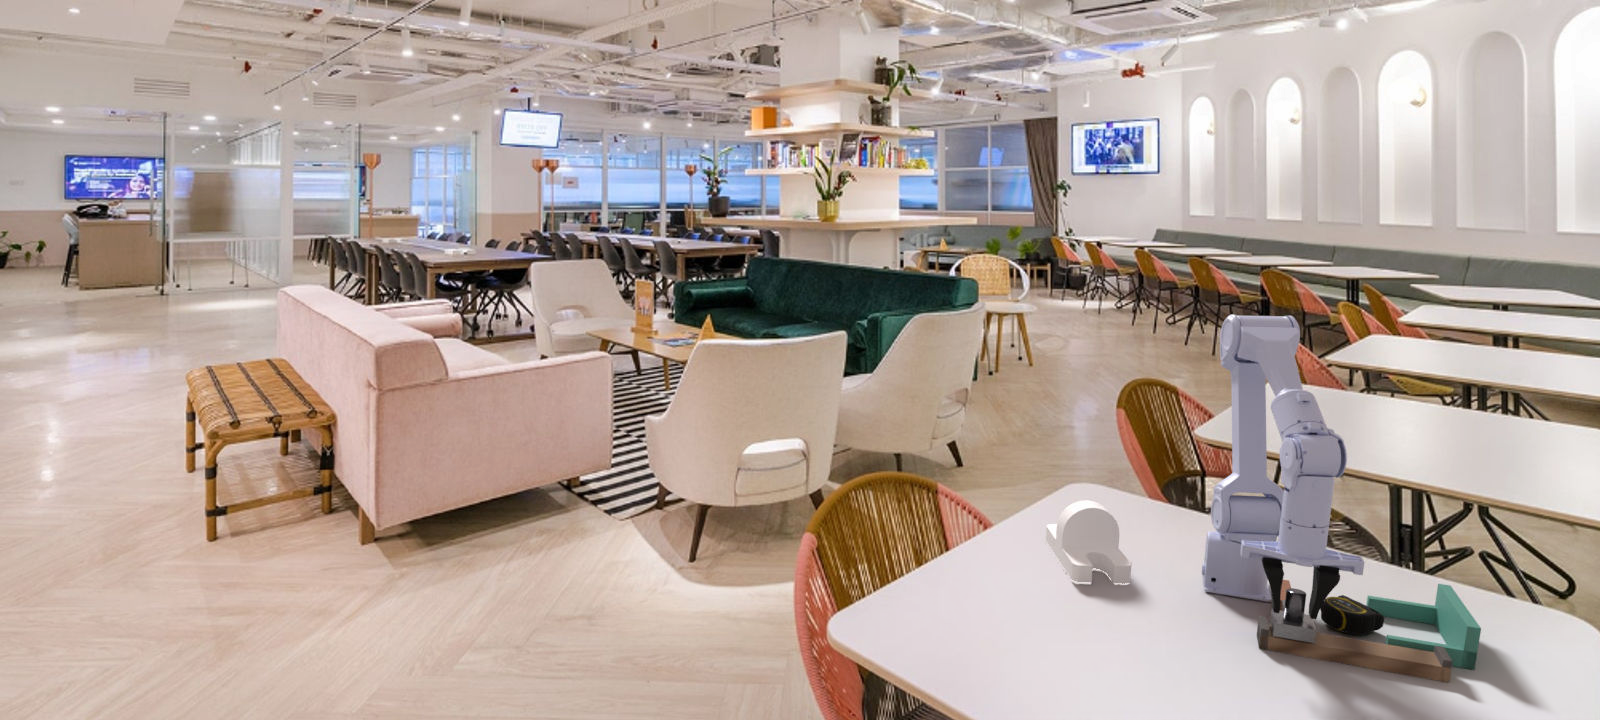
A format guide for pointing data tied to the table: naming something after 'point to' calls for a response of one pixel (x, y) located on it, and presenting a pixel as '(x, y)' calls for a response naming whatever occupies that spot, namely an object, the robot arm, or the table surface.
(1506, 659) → the table surface
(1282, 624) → the rod slider
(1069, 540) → the white slotted holder
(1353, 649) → the rail
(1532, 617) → the table surface
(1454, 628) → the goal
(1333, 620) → the tape measure
